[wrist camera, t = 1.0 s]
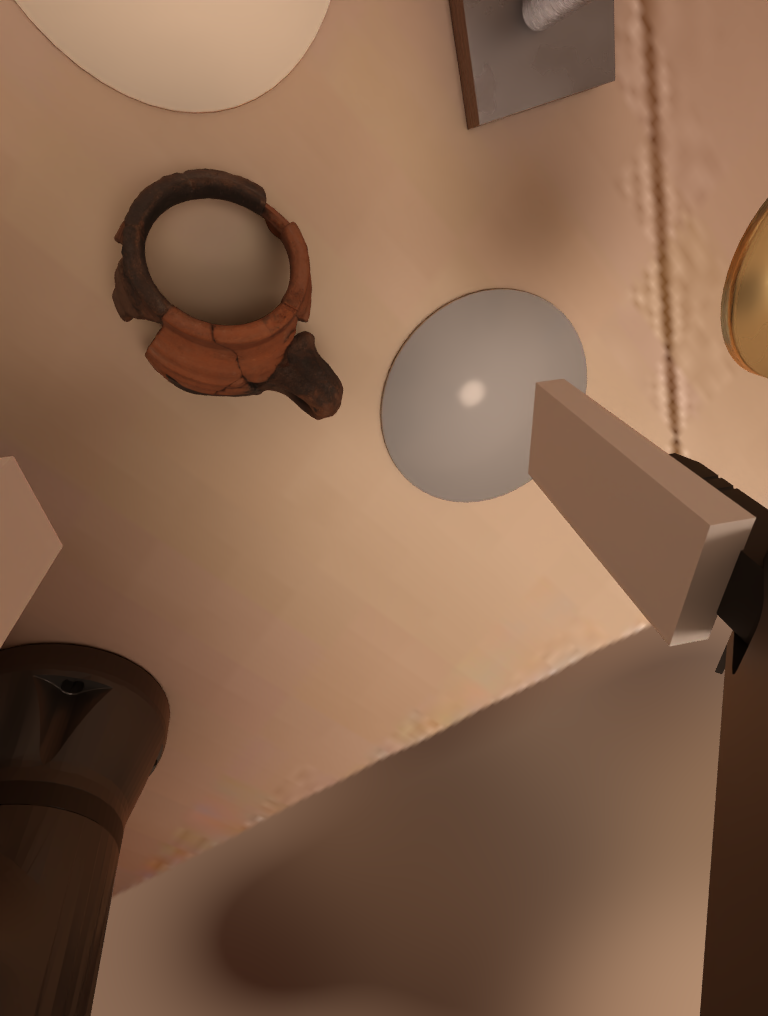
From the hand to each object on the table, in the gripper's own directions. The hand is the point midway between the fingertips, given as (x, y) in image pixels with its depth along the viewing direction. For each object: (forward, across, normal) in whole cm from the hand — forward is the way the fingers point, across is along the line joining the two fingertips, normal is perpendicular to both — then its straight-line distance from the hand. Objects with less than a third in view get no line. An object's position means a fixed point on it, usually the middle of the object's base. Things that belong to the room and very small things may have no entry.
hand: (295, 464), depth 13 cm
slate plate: (+18, -11, +7) cm, 22 cm away
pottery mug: (+17, +3, 0) cm, 17 cm away
